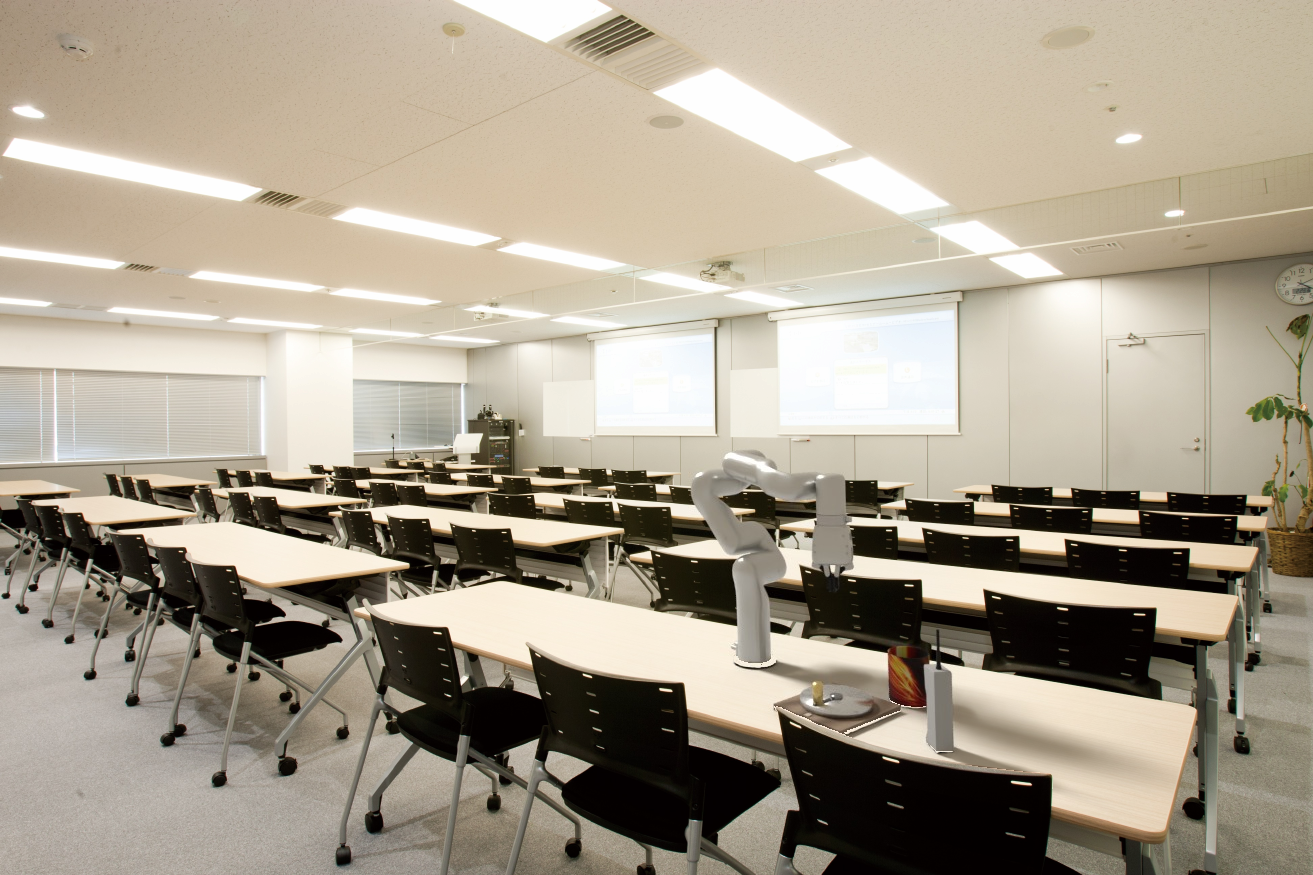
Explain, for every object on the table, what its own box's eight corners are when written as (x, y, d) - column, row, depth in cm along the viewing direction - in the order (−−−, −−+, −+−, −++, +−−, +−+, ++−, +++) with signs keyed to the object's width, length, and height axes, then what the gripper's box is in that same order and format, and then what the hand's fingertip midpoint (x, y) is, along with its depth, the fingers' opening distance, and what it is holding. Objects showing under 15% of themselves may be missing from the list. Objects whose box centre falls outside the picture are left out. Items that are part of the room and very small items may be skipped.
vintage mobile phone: (943, 742, 145) (939, 624, 145) (954, 752, 140) (950, 631, 140) (925, 742, 145) (922, 625, 145) (936, 753, 140) (932, 631, 140)
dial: (831, 685, 175) (830, 659, 175) (888, 705, 161) (888, 677, 161) (785, 701, 165) (784, 675, 165) (842, 724, 151) (841, 695, 151)
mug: (938, 716, 158) (936, 664, 158) (881, 701, 168) (880, 653, 168) (954, 704, 165) (953, 654, 165) (899, 690, 175) (898, 643, 175)
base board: (773, 709, 165) (773, 702, 165) (833, 687, 178) (833, 681, 178) (840, 737, 148) (840, 730, 148) (900, 711, 161) (900, 704, 161)
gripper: (862, 519, 178) (864, 589, 178) (805, 518, 185) (807, 586, 185) (858, 523, 172) (861, 596, 172) (799, 522, 178) (801, 592, 178)
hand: (833, 590), depth 178 cm, fingers closed
